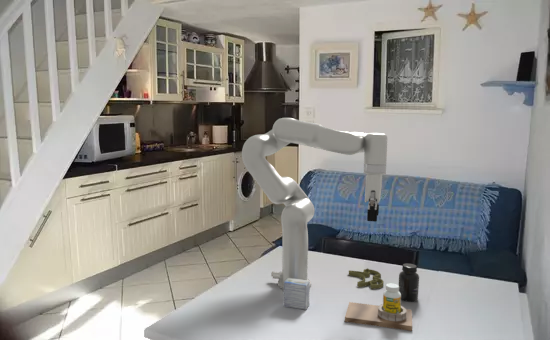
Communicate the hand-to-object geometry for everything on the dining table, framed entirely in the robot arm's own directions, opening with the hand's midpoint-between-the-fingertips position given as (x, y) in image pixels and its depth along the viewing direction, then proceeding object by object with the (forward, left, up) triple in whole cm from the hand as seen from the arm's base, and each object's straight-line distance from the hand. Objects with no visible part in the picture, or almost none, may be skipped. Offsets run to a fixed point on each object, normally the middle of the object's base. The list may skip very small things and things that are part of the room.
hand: (372, 218), depth 157 cm
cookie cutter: (-2, +16, -29) cm, 33 cm away
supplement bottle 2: (+13, +2, -28) cm, 31 cm away
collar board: (+4, -17, -28) cm, 33 cm away
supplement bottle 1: (+8, -17, -27) cm, 33 cm away
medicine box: (-23, -16, -29) cm, 40 cm away
